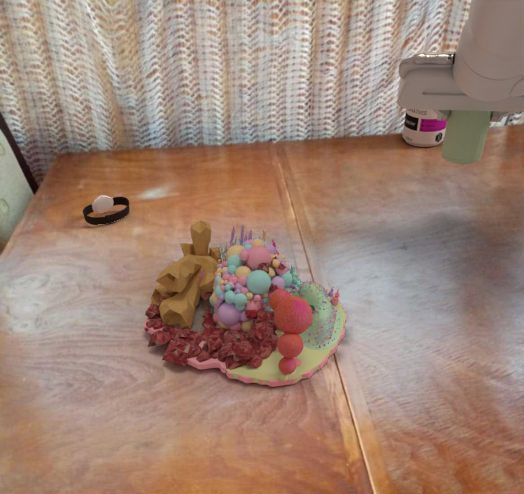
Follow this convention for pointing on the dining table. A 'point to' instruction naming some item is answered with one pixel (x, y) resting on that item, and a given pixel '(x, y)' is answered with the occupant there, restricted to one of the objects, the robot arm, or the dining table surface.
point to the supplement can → (423, 128)
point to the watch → (105, 209)
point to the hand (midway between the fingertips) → (469, 116)
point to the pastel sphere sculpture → (243, 312)
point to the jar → (465, 136)
